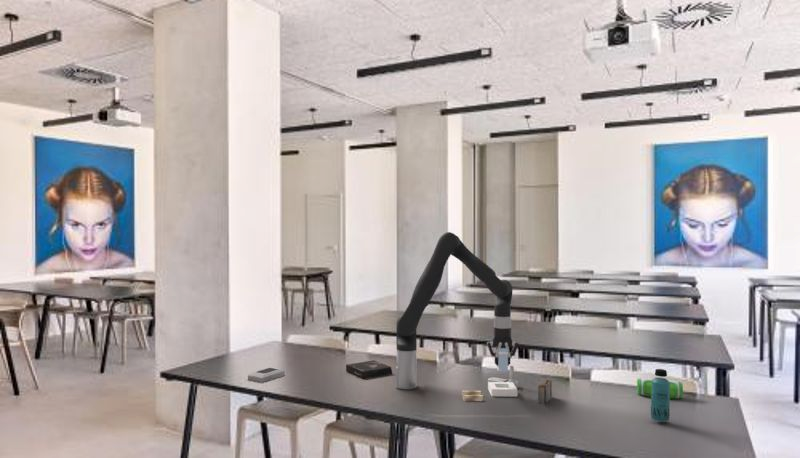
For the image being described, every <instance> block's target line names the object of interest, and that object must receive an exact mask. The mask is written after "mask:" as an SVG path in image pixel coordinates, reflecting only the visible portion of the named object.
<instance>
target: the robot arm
mask: <svg viewBox="0 0 800 458" xmlns="http://www.w3.org/2000/svg"><path fill="white" fill-rule="evenodd" d="M451 256H453V257H454V258H456V259H457V260H459V261H460V263H462V264H463V265H465V267H466V268H467V269H468V270H469V271H470V272H471V273H472V274H473V275H474V276H475V277H476V278H477V279H478V280H480V281H481V282H482V283H483V284H484V285H485V286H486V288H487V289H488V290H489V291H490V292H491V294H492V295H494V296H495V297H496V302H495V303H494V307H493V309H494V310H493V311H494V313H493V315H494V316H493V317H494V318H493V339H492V340H491V341H487V342H486V345H487V348H488V350H489V353H490V356H491V357H493V358H494V364H495V366H496V367H497V366H498V348H508V367H510V365H511V358H512V357H515V355H516V352H517V350H518V346H519V342H517V341H514V340H513V339H512V317H511V314H512V313H511V309H512V307H511V303H512V299H513V285H512V284H511V282H510V281H509V280H506V279H502V280H501V279H500V278H499V277H498V276H497V275H496V272H495V270H493V268H491V266H489V265H488V264H487V263H485V262H484V261H483V260H481V259H480V258H479V257H478V256H477V255H475V254H474V253H473V252H472V251H471V250H470V249H468V248H467V246H466V245H465V244H464V243H463V242H462V240H461V239H460V237H459V236H458V235H456V234H455V233H453V232H450V231H447V232H446V231H445V232H444V233H442V234H441V235H440V236H439V238H438V239H437V242H436V245H435V248H434V251H433V253H432V255H431V257H430V260H429V261H428V262H427V263H426V266H425V268H424V269H423V271H422V273H421V274H420V277H419V279H418V280H417V283H416V285H415V287H414V289H413V292H412V296H411V299H410V302H409V303H408V306H407V307H406V309H405V311H404V312H403V313H402V314H400V315H399V316H398V318H397V320H396V367H395V369H396V370H395V371H396V375H395V376H396V377H395V378H396V379H395V380H396V381H395V383H396V387H395V388H396V389H400V390H412V389H413V390H414V389H416V388H417V385H418V384H417V382H418V381H417V379H418V378H417V376H418V374H417V372H418V371H417V370H418V369H417V368H418V367H417V366H418V365H417V355H418V354H417V353H418V352H417V347H418V345H417V343H418V342H417V340H418V339H417V328H418V326H419V323H420V320H421V318H422V316H423V314H424V311H425V310H426V308H427V306H428V305H429V304H430V302H431V300H432V298H433V297H434V295H435V294H436V292H437V290H438V288H439V286H440V283H441V281H442V278H443V274H444V271H445V266H446V264H447V262H448V260H449V259H450V257H451ZM493 345H494V346H495V352H494V351H493V348H492V347H493ZM511 345H512V350H511V352H510V346H511Z"/></svg>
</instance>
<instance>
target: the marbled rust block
mask: <svg viewBox="0 0 800 458" xmlns="http://www.w3.org/2000/svg"><path fill="white" fill-rule="evenodd" d="M552 385H553V383H552V380H549V379H545V380H544V381H542V382H541V383H539V384H538V387H537V403H538V404H539V405H545V404H546V403H547V402H548V401H550V400H551V398H552V397H553V395H552V393H553V390H552V389H553V386H552Z"/></svg>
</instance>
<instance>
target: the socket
mask: <svg viewBox="0 0 800 458" xmlns="http://www.w3.org/2000/svg"><path fill="white" fill-rule="evenodd" d="M487 390H488V391H489V394H490V396H491V397H505V398H506V397H512V398H513V397H516V398H517V397H518V388H516V387H515V385H514V384H513V382H488V381H487Z"/></svg>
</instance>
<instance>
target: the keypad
mask: <svg viewBox="0 0 800 458" xmlns="http://www.w3.org/2000/svg"><path fill="white" fill-rule="evenodd" d="M285 373H286V372H285V371H284V370H283V369H282V368H278V367H277V368H276V367H273V366H272V367H270V366H269V367H267V368H263V369H259V370H257V371H253V372H251V373H249V374H248V375H247V380H248V381H252V382H256V383H262V384H263V383H265V382H270V381H271V380H275V379H279V378H281V377H284V376H286V375H285Z"/></svg>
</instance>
